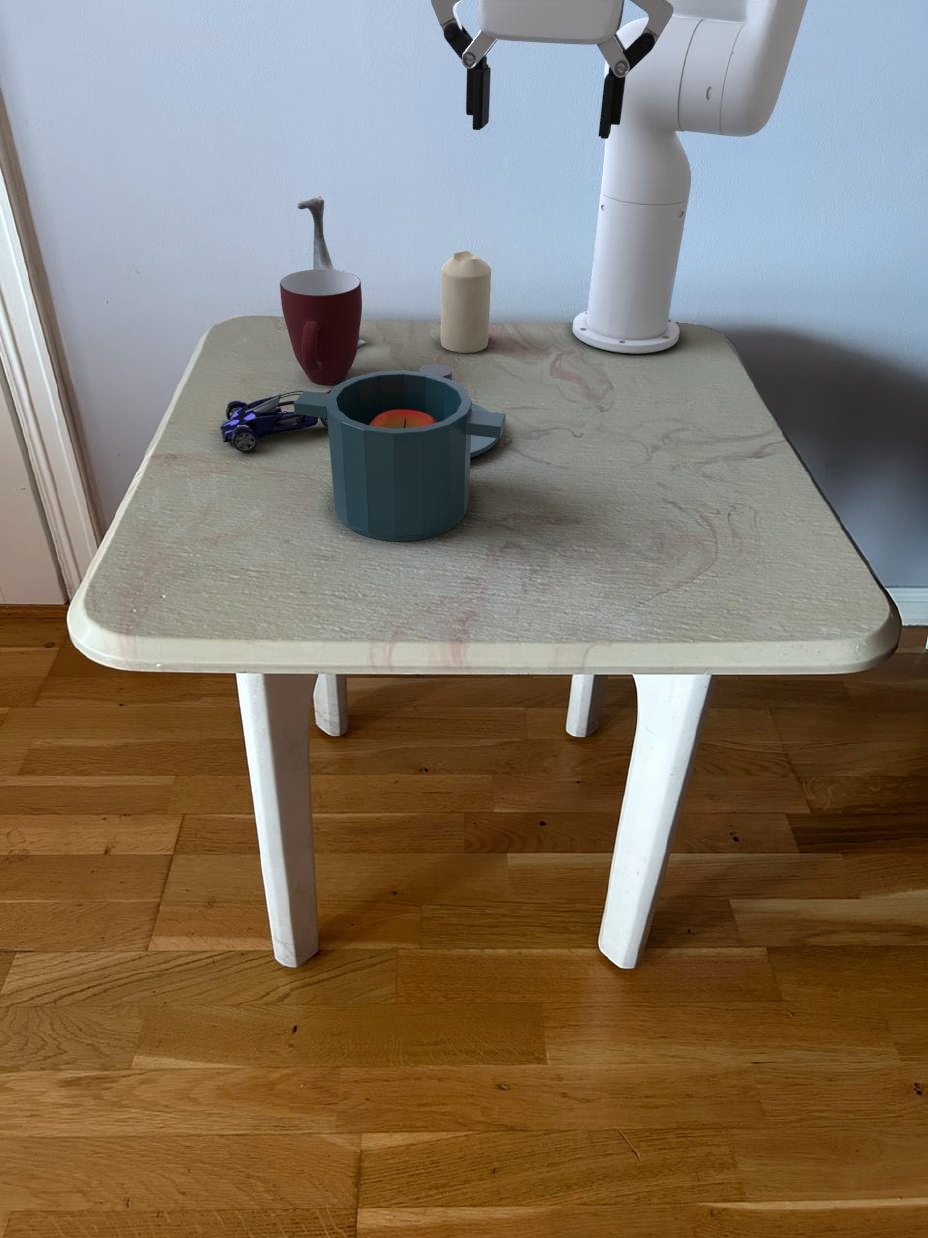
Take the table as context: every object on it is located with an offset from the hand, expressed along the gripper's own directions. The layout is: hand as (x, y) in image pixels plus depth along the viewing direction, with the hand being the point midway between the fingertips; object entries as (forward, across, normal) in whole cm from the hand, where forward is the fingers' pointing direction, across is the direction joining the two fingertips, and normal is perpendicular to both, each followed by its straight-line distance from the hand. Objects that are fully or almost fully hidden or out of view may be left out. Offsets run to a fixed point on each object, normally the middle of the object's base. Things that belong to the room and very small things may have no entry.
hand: (542, 130), depth 69 cm
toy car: (+26, +22, +4) cm, 35 cm away
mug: (+26, +22, -8) cm, 35 cm away
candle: (+26, +10, -22) cm, 36 cm away
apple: (+26, +8, +14) cm, 30 cm away
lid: (+26, +8, +1) cm, 27 cm away
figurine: (+26, +24, -18) cm, 40 cm away
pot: (+26, +8, +14) cm, 31 cm away
